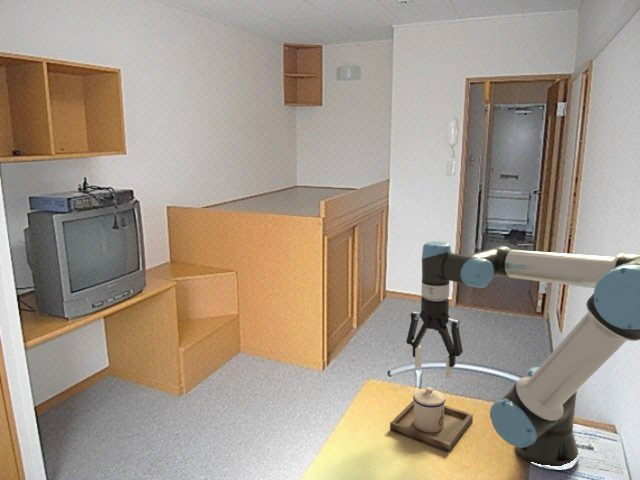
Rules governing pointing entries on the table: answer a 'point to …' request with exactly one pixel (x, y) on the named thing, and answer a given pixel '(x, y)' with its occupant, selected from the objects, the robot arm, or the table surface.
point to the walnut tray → (442, 440)
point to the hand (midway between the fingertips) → (433, 371)
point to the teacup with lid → (429, 410)
